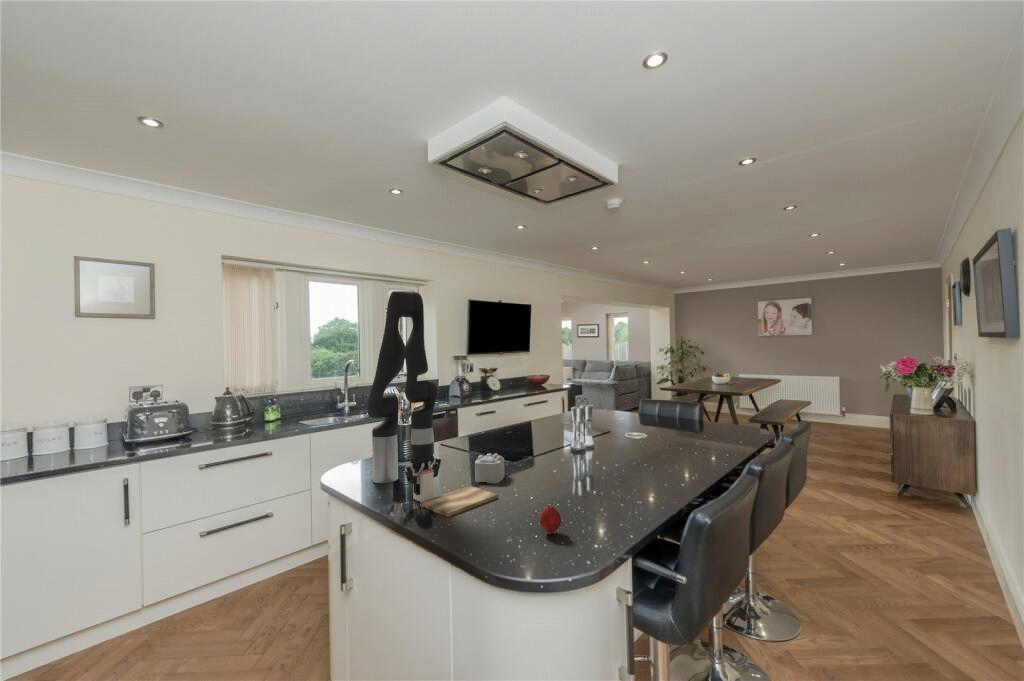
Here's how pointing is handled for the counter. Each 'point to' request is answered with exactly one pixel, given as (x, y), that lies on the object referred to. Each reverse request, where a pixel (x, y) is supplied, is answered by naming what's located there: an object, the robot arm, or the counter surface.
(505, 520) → the counter surface
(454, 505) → the board
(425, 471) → the block
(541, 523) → the red strawberry
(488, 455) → the paw stamp
